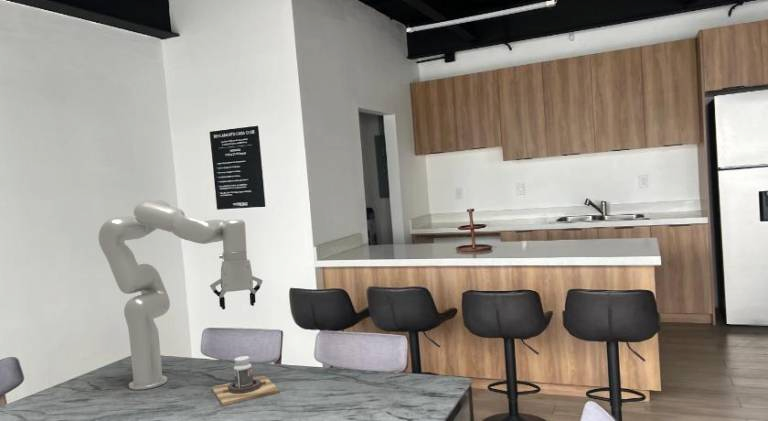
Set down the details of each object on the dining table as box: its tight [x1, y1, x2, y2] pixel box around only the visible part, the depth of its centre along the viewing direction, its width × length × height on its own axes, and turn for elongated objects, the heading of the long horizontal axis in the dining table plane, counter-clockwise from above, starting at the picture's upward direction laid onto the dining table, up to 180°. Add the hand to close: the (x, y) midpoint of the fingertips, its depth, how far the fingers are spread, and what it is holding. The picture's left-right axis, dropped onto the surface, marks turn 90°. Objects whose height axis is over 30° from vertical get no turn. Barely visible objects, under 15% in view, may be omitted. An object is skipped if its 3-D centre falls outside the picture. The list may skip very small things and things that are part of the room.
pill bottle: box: [233, 355, 254, 388], centre depth 187 cm, size 6×6×10 cm
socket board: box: [211, 375, 281, 407], centre depth 187 cm, size 18×18×2 cm
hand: (237, 307), depth 194 cm, fingers open, 9 cm apart
